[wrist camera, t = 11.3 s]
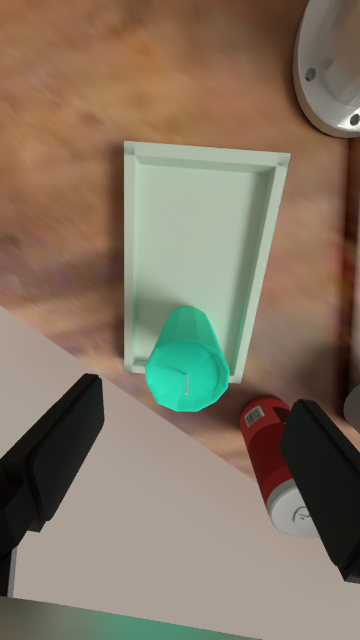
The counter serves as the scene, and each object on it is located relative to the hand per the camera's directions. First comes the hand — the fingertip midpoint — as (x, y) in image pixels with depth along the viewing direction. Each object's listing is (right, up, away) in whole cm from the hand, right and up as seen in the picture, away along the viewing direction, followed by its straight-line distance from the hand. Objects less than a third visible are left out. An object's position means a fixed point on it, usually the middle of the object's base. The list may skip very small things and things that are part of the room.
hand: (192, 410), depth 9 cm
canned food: (+12, -10, +18) cm, 24 cm away
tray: (+1, +9, +13) cm, 16 cm away
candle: (0, +3, +14) cm, 14 cm away
